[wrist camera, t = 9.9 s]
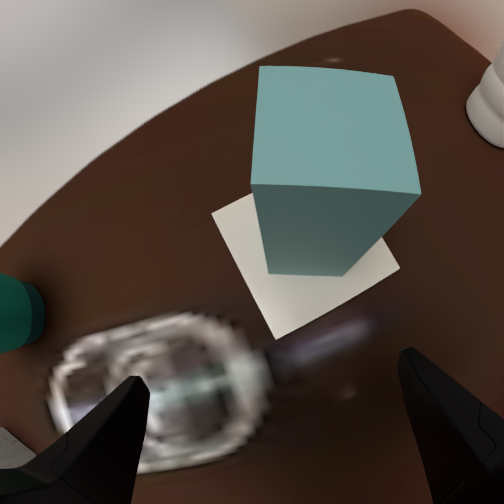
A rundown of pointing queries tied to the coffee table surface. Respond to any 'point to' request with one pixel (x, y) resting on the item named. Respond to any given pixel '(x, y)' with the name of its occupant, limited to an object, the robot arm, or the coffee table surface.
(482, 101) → the water bottle
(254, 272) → the cream tile
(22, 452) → the small box
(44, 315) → the cup
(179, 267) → the coffee table surface
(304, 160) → the teal block
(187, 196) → the coffee table surface
